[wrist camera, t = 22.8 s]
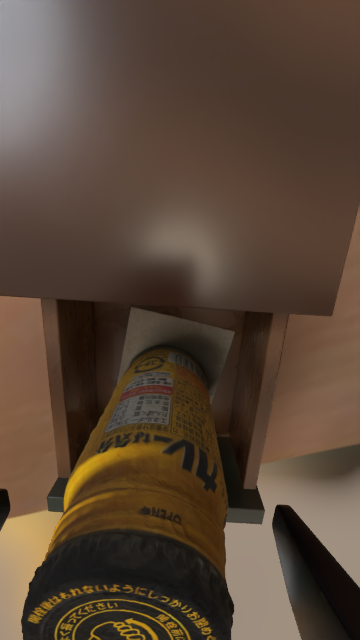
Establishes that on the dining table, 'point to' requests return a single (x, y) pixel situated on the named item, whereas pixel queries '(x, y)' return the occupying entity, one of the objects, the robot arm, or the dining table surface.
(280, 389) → the dining table surface
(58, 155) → the cabinet
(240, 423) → the drawer
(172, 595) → the condiment
